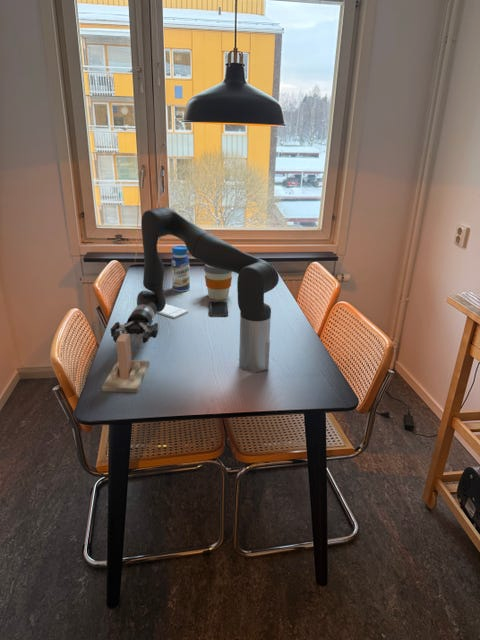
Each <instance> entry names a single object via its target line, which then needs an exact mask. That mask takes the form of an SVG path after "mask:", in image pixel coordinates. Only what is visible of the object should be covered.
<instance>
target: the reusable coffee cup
mask: <svg viewBox="0 0 480 640" xmlns="http://www.w3.org/2000/svg"><path fill="white" fill-rule="evenodd" d="M203 270H204V273H205V275H204V279H205V287H206V288H207V294H208V298H210V299H212V300H215V301H217V300H218V301H221V300H226V299H227V298H229V294H230V288H231V287H232V280H233V279H232V278H233V276H232V274H233V273H232V271H228V270H223V269H218V268H214V267H211V266H208V265H206V264H204V269H203Z"/></svg>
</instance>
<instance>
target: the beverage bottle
mask: <svg viewBox="0 0 480 640" xmlns="http://www.w3.org/2000/svg"><path fill="white" fill-rule="evenodd" d="M171 249H172V250H171V252H172V255H173V256H172V258H171V261H170V263H171V267H170V270H171V285H172V286H171V288H172V290H173V291H175V292H178V293H179V292H187V291H189V290H190V288H191V282H190V281H191V280H190V259H189V257H188V256H187V255H188V250H187V248H186V245H174V246H172V248H171Z"/></svg>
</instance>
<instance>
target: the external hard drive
mask: <svg viewBox="0 0 480 640" xmlns="http://www.w3.org/2000/svg"><path fill="white" fill-rule="evenodd" d="M158 313H159V315H162V316H165V317H168V318H170V319H174V320H176V319H177V318H180V317H181V316H183V315H187V314H189V311H188V310H187V309H183V308H180V307H177V306H173V305H170V304H167V303H166V304H165V307H164V309H163V310H162V311H160V312H156V314H158Z"/></svg>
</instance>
